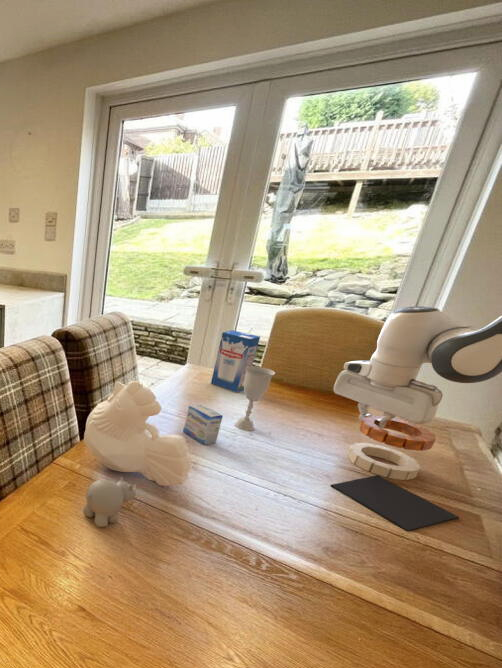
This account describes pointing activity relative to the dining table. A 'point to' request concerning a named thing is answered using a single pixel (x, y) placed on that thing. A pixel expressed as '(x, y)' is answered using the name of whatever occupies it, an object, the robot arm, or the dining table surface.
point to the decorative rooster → (135, 437)
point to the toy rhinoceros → (107, 500)
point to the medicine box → (202, 424)
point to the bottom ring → (404, 471)
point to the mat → (394, 502)
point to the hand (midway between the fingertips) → (371, 423)
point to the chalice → (254, 391)
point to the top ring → (415, 440)
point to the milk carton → (234, 359)
